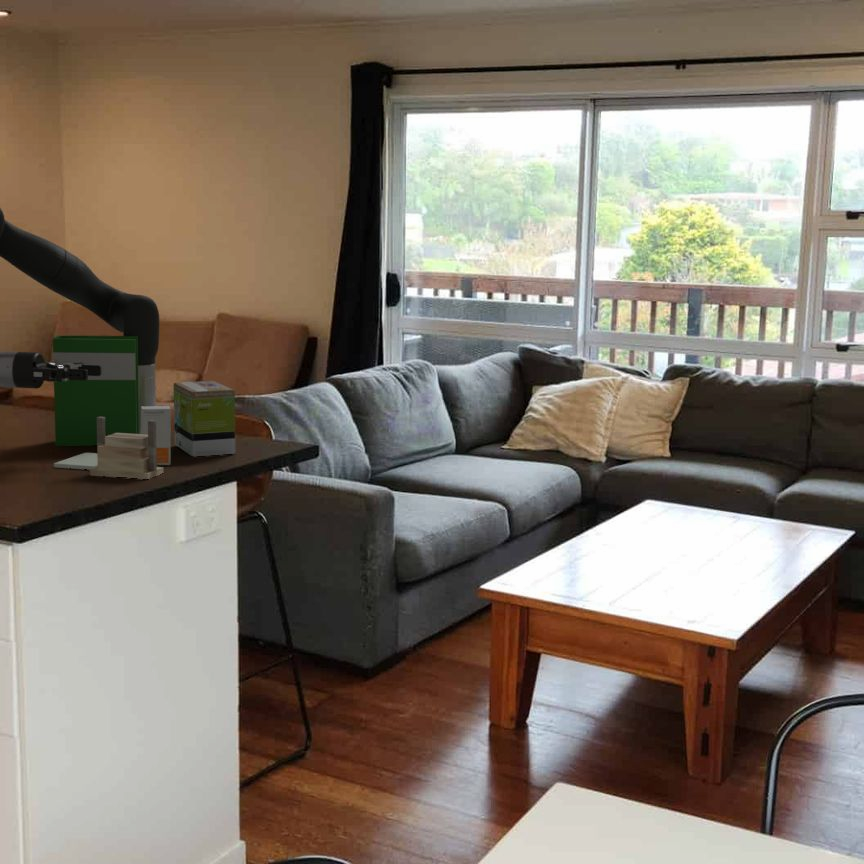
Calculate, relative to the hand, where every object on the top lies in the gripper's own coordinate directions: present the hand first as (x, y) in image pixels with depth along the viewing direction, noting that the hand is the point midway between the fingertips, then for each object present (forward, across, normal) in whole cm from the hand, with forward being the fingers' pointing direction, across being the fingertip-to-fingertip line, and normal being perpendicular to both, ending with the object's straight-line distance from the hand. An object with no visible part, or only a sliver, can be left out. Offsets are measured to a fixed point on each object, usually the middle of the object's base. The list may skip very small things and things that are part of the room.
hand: (94, 372), depth 251 cm
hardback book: (-6, +22, +19) cm, 29 cm away
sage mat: (0, -2, +19) cm, 19 cm away
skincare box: (+13, 0, +19) cm, 23 cm away
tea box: (+19, +17, +19) cm, 32 cm away
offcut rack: (+10, -12, +19) cm, 25 cm away
